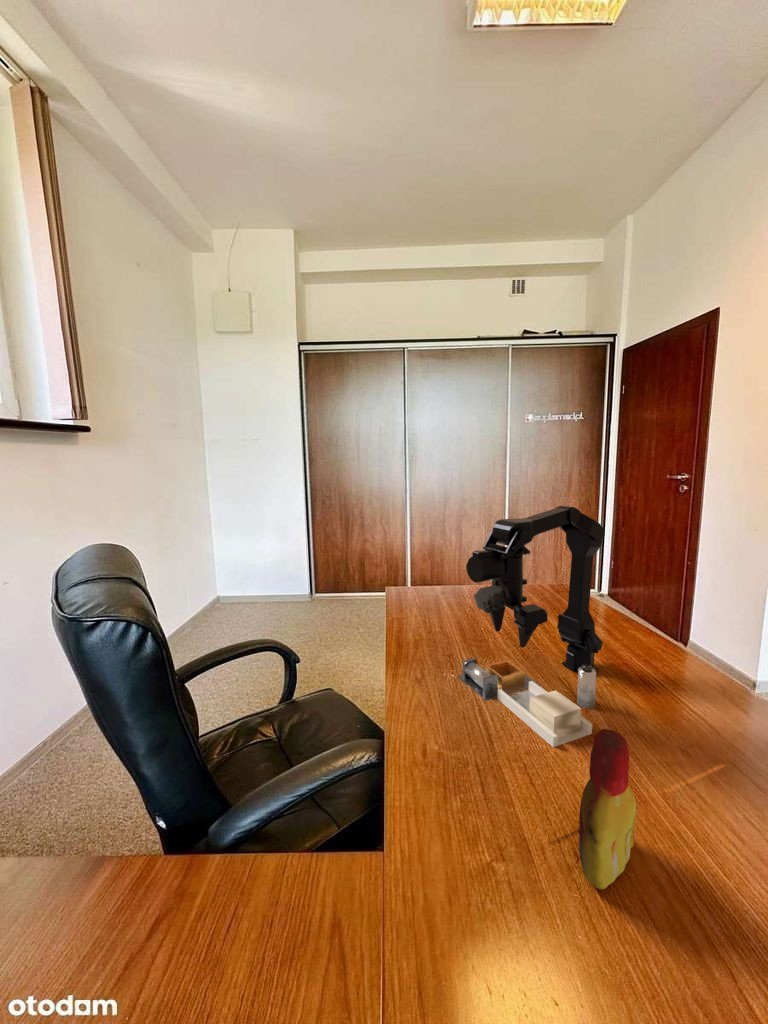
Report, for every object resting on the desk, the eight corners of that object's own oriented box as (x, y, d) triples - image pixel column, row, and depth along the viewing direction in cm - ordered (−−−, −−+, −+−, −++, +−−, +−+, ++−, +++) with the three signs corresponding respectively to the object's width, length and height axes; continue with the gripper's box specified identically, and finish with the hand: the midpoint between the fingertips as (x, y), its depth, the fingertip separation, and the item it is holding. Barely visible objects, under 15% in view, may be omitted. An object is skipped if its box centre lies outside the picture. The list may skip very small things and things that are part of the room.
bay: (531, 690, 99) (532, 680, 99) (591, 735, 83) (592, 724, 82) (497, 700, 95) (497, 690, 95) (553, 749, 79) (553, 737, 79)
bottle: (614, 914, 51) (622, 768, 48) (562, 877, 55) (567, 742, 53) (641, 848, 59) (649, 721, 56) (594, 821, 64) (599, 702, 61)
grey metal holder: (508, 664, 112) (509, 647, 111) (540, 686, 101) (540, 668, 100) (458, 676, 106) (458, 659, 105) (485, 702, 95) (485, 682, 94)
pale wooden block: (552, 709, 91) (553, 688, 90) (580, 730, 84) (581, 708, 83) (527, 717, 88) (527, 696, 87) (553, 740, 81) (554, 716, 80)
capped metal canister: (585, 699, 95) (586, 660, 94) (598, 707, 92) (600, 668, 90) (573, 703, 94) (574, 664, 92) (586, 711, 90) (587, 671, 89)
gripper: (458, 569, 100) (459, 629, 102) (505, 592, 82) (505, 664, 85) (496, 563, 104) (496, 621, 106) (549, 584, 86) (548, 653, 88)
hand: (509, 638), depth 96 cm, fingers open, 9 cm apart
